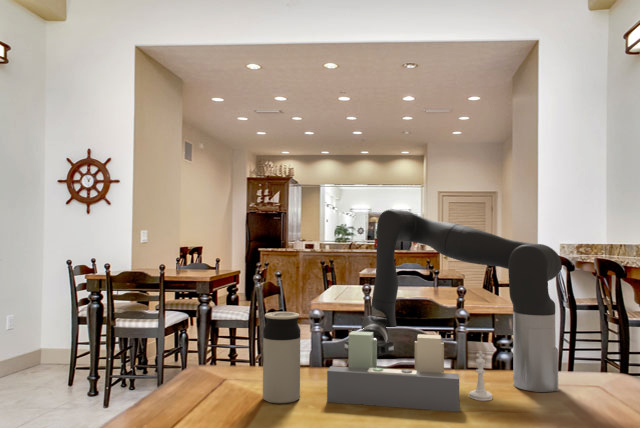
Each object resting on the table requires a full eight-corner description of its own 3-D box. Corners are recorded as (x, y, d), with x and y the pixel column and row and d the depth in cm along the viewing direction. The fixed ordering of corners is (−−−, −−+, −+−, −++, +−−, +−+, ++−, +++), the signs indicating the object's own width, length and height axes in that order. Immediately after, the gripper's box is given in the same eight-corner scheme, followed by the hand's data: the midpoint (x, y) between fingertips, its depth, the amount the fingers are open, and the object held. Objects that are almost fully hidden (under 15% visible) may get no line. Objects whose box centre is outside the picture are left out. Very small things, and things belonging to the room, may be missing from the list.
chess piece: (493, 401, 113) (493, 354, 113) (469, 399, 114) (469, 352, 114) (491, 394, 118) (490, 349, 118) (468, 393, 119) (468, 348, 119)
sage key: (376, 379, 122) (376, 331, 122) (374, 385, 117) (374, 335, 117) (349, 377, 123) (349, 330, 124) (345, 384, 118) (345, 334, 119)
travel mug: (306, 396, 116) (306, 313, 117) (288, 406, 109) (289, 318, 109) (274, 391, 119) (275, 310, 120) (255, 401, 112) (256, 315, 113)
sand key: (443, 383, 119) (443, 334, 119) (444, 390, 114) (444, 338, 114) (414, 382, 120) (414, 333, 121) (413, 388, 115) (414, 337, 116)
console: (456, 394, 118) (456, 362, 118) (459, 411, 106) (459, 376, 107) (337, 385, 124) (337, 355, 124) (327, 401, 112) (327, 368, 112)
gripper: (348, 324, 144) (336, 336, 127) (397, 326, 141) (392, 339, 124) (348, 352, 144) (336, 368, 127) (397, 355, 141) (392, 372, 124)
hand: (364, 354), depth 126 cm, fingers closed
